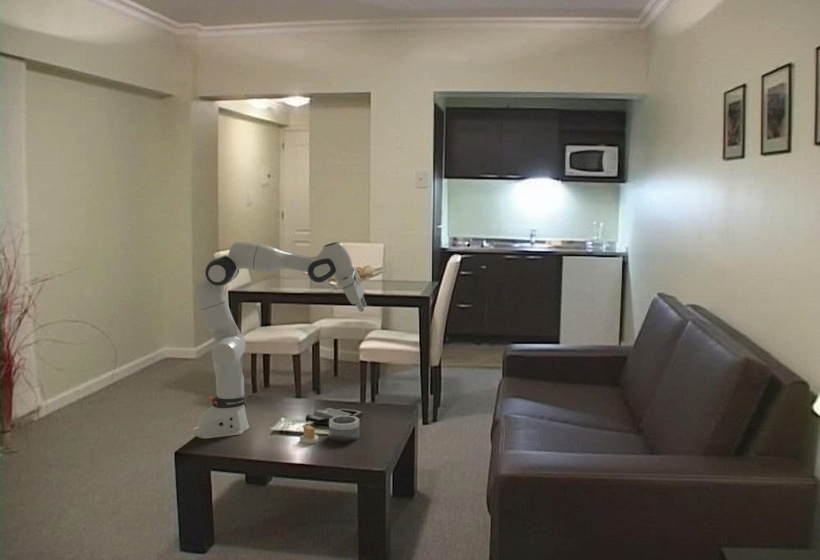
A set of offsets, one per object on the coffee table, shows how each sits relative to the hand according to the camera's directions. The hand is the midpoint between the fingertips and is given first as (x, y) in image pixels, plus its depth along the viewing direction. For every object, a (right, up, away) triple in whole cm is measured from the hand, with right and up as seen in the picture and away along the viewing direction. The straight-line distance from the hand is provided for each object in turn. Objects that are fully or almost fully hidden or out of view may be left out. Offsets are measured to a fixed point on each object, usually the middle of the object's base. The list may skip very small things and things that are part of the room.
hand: (363, 309), depth 307 cm
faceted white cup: (-7, -51, -4) cm, 52 cm away
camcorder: (-12, -49, +14) cm, 53 cm away
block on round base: (-21, -52, -9) cm, 57 cm away
